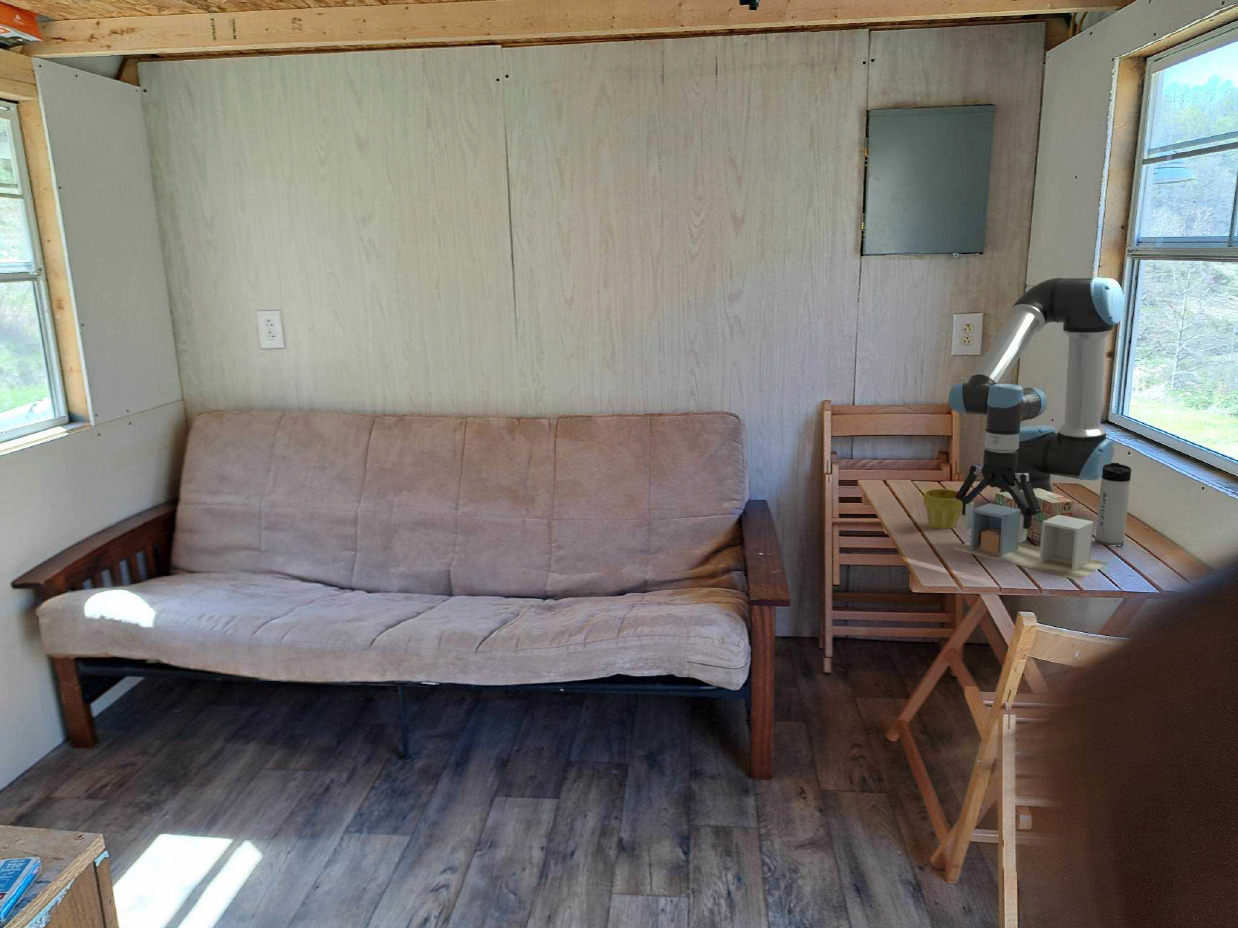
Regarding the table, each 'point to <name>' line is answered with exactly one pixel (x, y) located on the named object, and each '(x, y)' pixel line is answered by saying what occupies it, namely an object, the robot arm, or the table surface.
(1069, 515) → the stack of blocks
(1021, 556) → the birch board
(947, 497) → the plant pot
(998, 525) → the hollow pale blue box
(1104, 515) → the travel mug
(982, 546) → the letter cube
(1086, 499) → the table surface
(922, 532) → the table surface
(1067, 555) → the box
